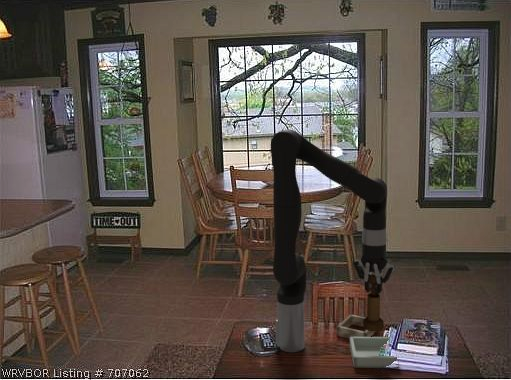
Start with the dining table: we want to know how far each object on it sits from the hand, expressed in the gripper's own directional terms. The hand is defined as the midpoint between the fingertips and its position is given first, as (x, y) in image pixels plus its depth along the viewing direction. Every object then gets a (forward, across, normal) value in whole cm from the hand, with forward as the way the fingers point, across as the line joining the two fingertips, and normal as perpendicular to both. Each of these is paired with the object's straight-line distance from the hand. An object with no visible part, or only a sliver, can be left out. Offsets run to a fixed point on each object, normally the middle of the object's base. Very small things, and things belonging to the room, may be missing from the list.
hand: (373, 292), depth 170 cm
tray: (+23, 0, 0) cm, 23 cm away
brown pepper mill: (+12, 0, 0) cm, 12 cm away
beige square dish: (+23, -11, +14) cm, 29 cm away
